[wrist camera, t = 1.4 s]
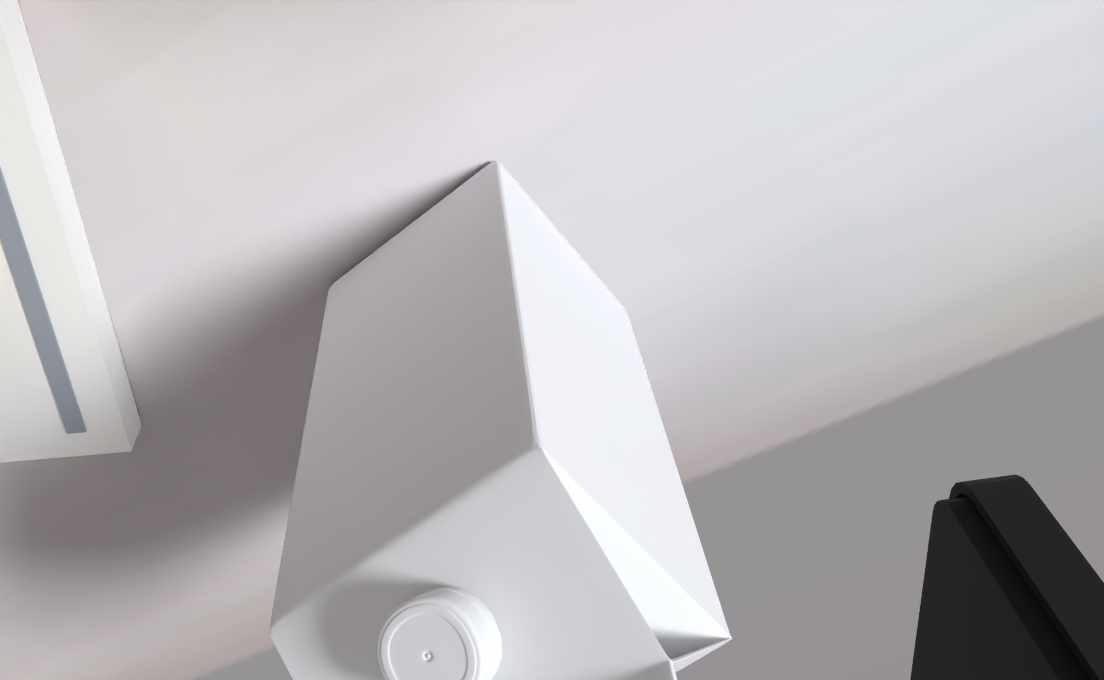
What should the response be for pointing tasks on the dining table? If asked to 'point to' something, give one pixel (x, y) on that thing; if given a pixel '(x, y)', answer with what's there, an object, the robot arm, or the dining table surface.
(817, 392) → the dining table surface
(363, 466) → the milk carton
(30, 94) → the white cutting board
